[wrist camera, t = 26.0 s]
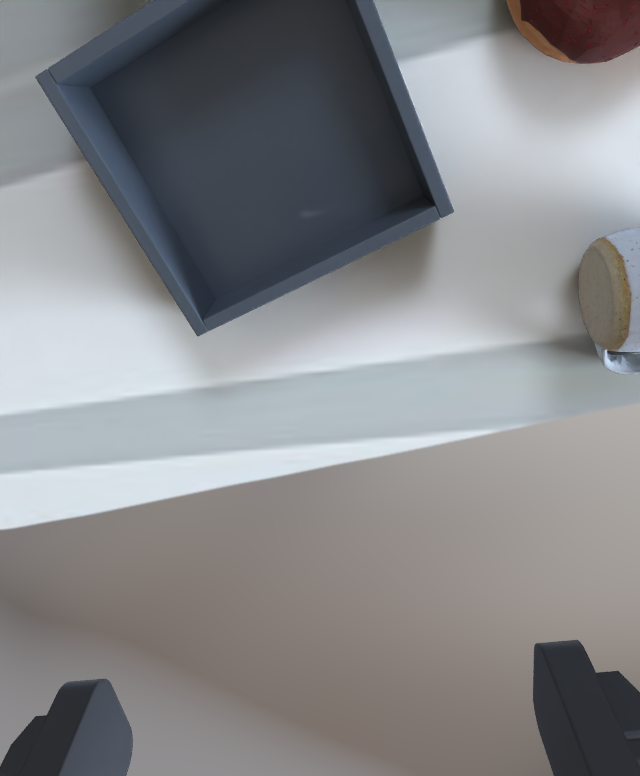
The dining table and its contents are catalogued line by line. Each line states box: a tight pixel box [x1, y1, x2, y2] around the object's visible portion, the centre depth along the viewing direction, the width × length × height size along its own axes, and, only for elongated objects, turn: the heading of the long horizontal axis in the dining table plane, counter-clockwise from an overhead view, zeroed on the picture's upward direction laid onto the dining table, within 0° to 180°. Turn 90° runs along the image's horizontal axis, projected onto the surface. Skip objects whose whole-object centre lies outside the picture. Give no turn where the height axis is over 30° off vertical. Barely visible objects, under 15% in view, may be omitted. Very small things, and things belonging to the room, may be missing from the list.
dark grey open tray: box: [35, 0, 454, 336], centre depth 32 cm, size 17×16×5 cm
